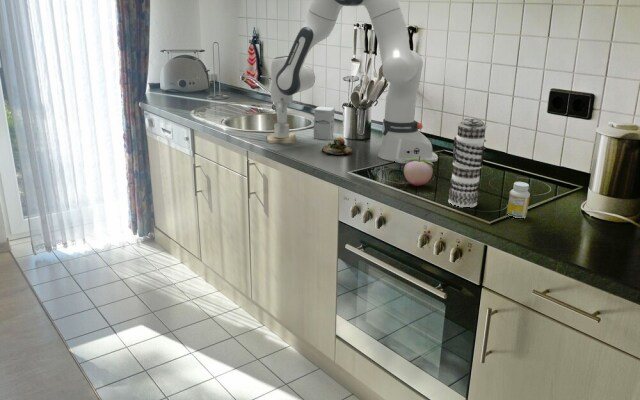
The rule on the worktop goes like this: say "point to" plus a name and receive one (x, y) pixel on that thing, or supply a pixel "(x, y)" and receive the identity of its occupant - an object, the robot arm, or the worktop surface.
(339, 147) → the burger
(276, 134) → the cap
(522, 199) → the supplement bottle
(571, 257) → the worktop surface
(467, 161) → the decorative candle
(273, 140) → the stud board
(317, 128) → the supplement box
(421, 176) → the decorative fruit
